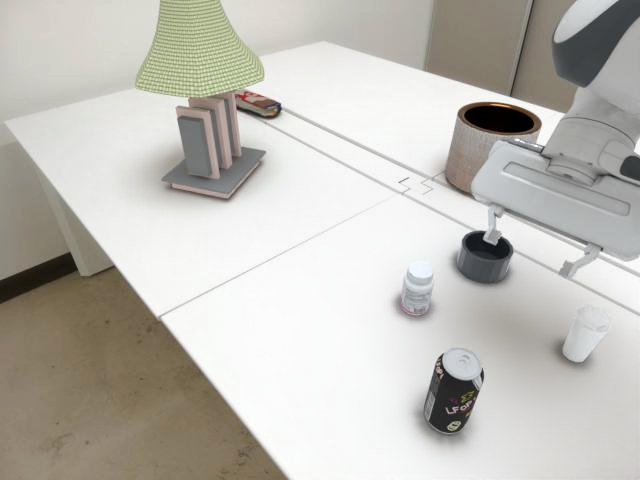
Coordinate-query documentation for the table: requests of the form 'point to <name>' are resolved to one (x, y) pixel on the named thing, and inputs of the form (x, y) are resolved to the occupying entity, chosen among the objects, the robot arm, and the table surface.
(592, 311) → the milkshake
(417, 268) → the pill bottle
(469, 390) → the beverage can
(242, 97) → the pencil case
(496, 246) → the can holder
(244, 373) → the table surface
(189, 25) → the desk lamp
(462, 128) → the planter
